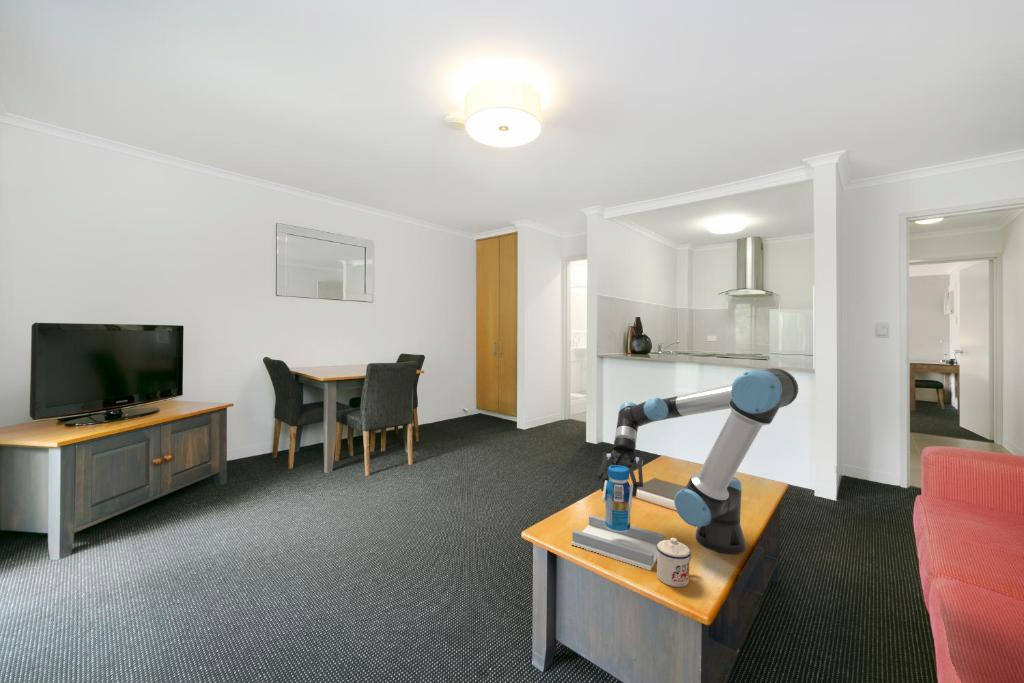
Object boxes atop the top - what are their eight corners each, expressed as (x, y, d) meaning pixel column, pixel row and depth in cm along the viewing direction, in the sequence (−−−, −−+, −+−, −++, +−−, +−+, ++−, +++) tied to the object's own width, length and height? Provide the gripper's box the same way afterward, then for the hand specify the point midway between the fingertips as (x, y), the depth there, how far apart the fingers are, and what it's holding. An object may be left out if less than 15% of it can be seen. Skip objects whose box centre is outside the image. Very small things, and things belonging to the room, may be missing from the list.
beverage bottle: (599, 525, 140) (600, 467, 140) (615, 519, 145) (616, 462, 145) (619, 536, 134) (620, 474, 133) (636, 528, 139) (637, 469, 138)
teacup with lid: (674, 591, 115) (675, 550, 114) (649, 574, 123) (650, 535, 122) (703, 579, 120) (704, 540, 120) (677, 564, 128) (678, 526, 128)
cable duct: (665, 545, 140) (665, 533, 139) (650, 570, 124) (651, 557, 124) (592, 524, 154) (592, 513, 154) (571, 545, 139) (571, 533, 139)
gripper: (655, 451, 149) (650, 513, 134) (597, 443, 157) (587, 502, 143) (654, 439, 144) (649, 503, 129) (595, 432, 152) (583, 492, 137)
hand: (616, 502), depth 136 cm, fingers closed on beverage bottle, 8 cm apart
